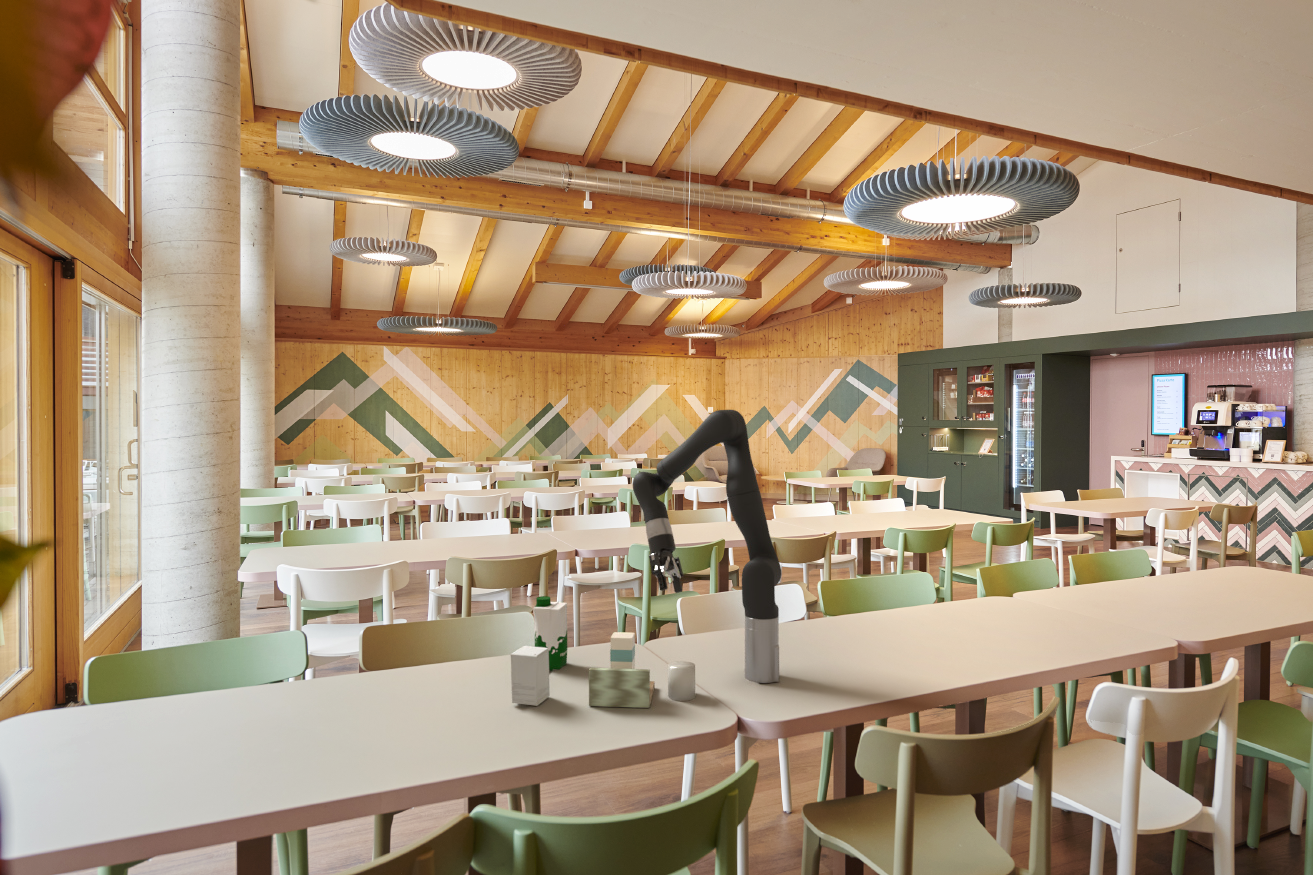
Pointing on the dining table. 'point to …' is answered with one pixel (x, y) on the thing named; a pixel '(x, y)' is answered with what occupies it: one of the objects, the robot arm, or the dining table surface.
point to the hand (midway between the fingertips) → (671, 591)
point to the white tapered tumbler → (681, 681)
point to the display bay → (620, 687)
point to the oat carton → (622, 650)
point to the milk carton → (551, 630)
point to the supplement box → (530, 675)
